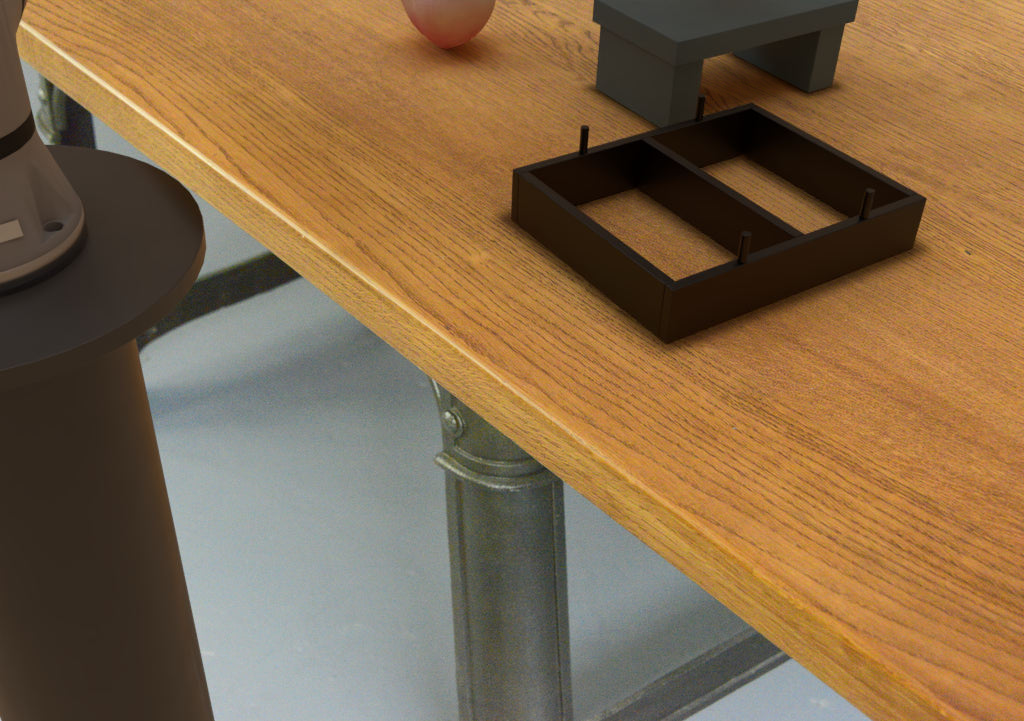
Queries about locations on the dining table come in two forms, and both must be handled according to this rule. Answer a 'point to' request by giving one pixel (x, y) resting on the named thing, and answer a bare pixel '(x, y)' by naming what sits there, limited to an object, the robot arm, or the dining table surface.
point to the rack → (714, 215)
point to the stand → (711, 47)
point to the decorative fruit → (449, 19)
